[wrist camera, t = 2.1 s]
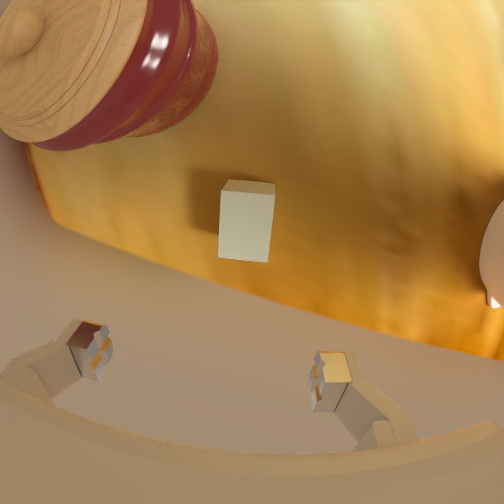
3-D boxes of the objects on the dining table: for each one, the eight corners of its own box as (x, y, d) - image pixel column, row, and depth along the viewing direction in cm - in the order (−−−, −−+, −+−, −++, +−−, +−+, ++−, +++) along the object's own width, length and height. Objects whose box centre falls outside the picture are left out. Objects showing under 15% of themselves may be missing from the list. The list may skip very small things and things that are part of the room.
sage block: (274, 183, 25) (275, 195, 21) (268, 240, 27) (267, 262, 23) (229, 178, 25) (221, 190, 21) (225, 236, 27) (217, 257, 23)
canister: (96, 145, 24) (-55, 196, 8) (92, 28, 19) (-44, -4, 3) (224, 126, 23) (129, 136, 7) (218, -4, 18) (149, -128, 2)
